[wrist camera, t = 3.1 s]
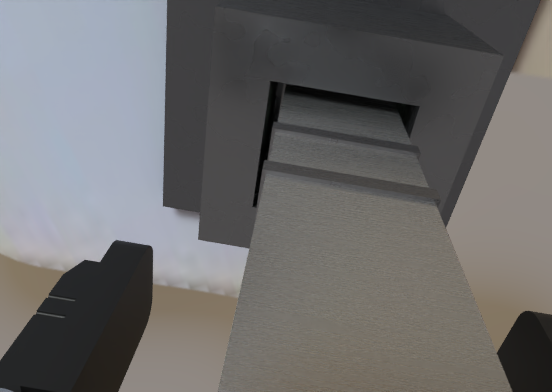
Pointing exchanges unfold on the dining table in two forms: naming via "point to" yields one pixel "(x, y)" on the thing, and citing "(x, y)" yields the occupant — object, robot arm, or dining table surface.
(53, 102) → the dining table surface
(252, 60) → the sleeve
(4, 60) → the dining table surface
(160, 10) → the dining table surface
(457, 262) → the column
